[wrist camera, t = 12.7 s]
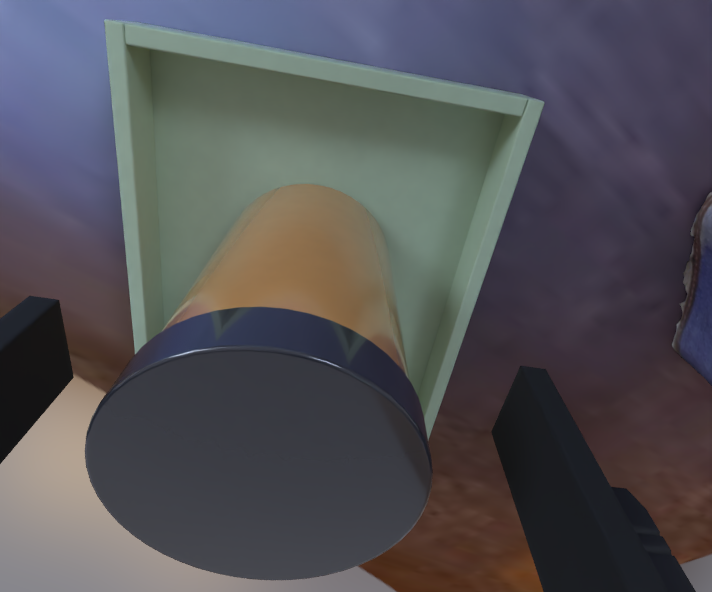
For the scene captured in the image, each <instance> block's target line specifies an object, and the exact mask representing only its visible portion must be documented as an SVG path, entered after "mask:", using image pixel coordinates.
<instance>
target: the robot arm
mask: <svg viewBox="0 0 712 592" xmlns="http://www.w3.org/2000/svg"><path fill="white" fill-rule="evenodd" d="M72 379H73V372H72V366H71V361H70V356H69V351H68V345H67V340H66V335H65V330H64V324H63V319H62V314H61V309H60V303H59V300H55V299H48V298H41V297H34V296H29V297H28V298H26V299H25V300H24V301H22V302H21V303H20V304H19V305H17V306H16V307H15V308H13V309H12V310H11V311H10V312H8V313H7V314H6V315H4V316H3V317H2V318H1V319H0V464H1V462H2V461H3V460H4V459H5V458H6V457H7V455H8V454H9V453H10V452H11V451H12V449H13V448H14V447H15V446H16V445H17V444H18V442H19V441H20V440H21V439H22V438H23V436H24V435H25V434H26V433H27V432H28V430H29V429H30V428H31V427H32V426H33V425H34V423H35V422H36V421H37V420H38V419H39V418H40V416H41V415H42V414H43V413H44V412H45V410H46V409H47V408H48V407H49V406H50V404H51V403H52V402H53V401H54V400H55V399H56V398H57V396H58V395H59V394H60V393H61V392H62V390H63V389H64V388H65V387H66V386H67V385H68V383H69V382H70V381H71V380H72ZM491 432H492V436H493V439H494V442H495V445H496V448H497V451H498V454H499V457H500V460H501V463H502V466H503V469H504V472H505V475H506V478H507V481H508V484H509V487H510V490H511V493H512V496H513V499H514V502H515V505H516V509H517V512H518V515H519V518H520V521H521V524H522V527H523V530H524V533H525V536H526V539H527V542H528V545H529V548H530V551H531V554H532V557H533V560H534V563H535V566H536V569H537V572H538V575H539V578H540V581H541V585H542V588H543V591H544V592H696V591H695V590H694V588H693V586H692V585H691V583H690V581H689V580H688V578H687V576H686V575H685V573H684V571H683V570H682V568H681V566H680V565H679V563H678V561H677V560H676V558H675V556H672V555H671V550H670V548H669V546H668V545H667V543H666V541H665V540H664V538H663V537H661V536H660V531H659V530H658V528H657V526H656V525H655V523H654V522H653V520H652V518H651V517H650V515H649V513H648V512H647V510H646V509H645V508H644V507H643V506H642V505H641V503H640V502H639V501H638V500H637V499H636V498H635V497H634V496H633V495H632V494H631V493H630V492H629V491H628V490H627V489H624V488H616V487H611V486H610V485H609V483H608V481H607V479H606V477H605V476H604V474H603V472H602V470H601V468H600V467H599V465H598V463H597V461H596V459H595V458H594V456H593V454H592V452H591V450H590V449H589V447H588V445H587V443H586V441H585V440H584V438H583V436H582V434H581V432H580V431H579V429H578V427H577V425H576V423H575V422H574V420H573V418H572V416H571V414H570V413H569V411H568V409H567V407H566V405H565V403H564V402H563V400H562V398H561V396H560V394H559V393H558V391H557V389H556V387H555V385H554V384H553V382H552V380H551V378H550V376H549V375H548V373H547V371H546V369H540V368H533V367H526V366H520V368H519V371H518V373H517V375H516V377H515V380H514V382H513V384H512V386H511V389H510V391H509V393H508V395H507V398H506V400H505V402H504V404H503V407H502V409H501V411H500V413H499V416H498V418H497V420H496V422H495V425H494V427H493V429H492V431H491Z"/></svg>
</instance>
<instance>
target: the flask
mask: <svg viewBox="0 0 712 592" xmlns="http://www.w3.org/2000/svg"><path fill="white" fill-rule="evenodd" d="M690 236H694V238H695V239H694V244H693V249H692V251H691V252H692V253H691V255H690V256H689V257H690V259H689V260H690V261H688V262H687V264H686V270H685V272H684V273H683V275H684V280H683V283H684V286H686V287H685V290H686V292H687V293H688V294H687V298H686V300H685V301H684V302H682V303H681V304H679V305H681V308H682V312H683V314H682V318H681V319H680V321H679V322H678V324H676V326H677V330H676V334H675V336H674V340H673V342H672V347H673V348H674V350H675V351H676V352H677V353H678V354H679V355H680V356H681V358H683V359H684V360H685V361H686V362H688V363H689V364H690V365H691V366H692V367H693V368H694V369H695V370H696V371H697V372H698V373H699V374H701V375H702V376H703V377H704V378H705V379H706V380H707V381H708V383H709V384H710V385H711V386H712V192H710V193H709V194H708V196H707V198H706V201H705V202H704V204H703V205H702V207H701V209H700V210H699V212H698V213H697V215H696V217H695V221H694V223H693V226H692V228H691V233H690Z"/></svg>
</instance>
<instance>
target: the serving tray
mask: <svg viewBox="0 0 712 592" xmlns="http://www.w3.org/2000/svg"><path fill="white" fill-rule="evenodd" d="M104 24H105V34H106V45H107V56H108V67H109V77H110V88H111V99H112V110H113V120H114V131H115V142H116V153H117V163H118V174H119V185H120V196H121V206H122V217H123V228H124V239H125V249H126V260H127V271H128V282H129V292H130V303H131V314H132V325H133V335H134V346H135V354H136V353H137V352H138V351H139V349H140V348H141V347H142V346H143V345H145V344H146V343H147V342H148V341H150V340H151V339H152V338H153V337H154V336H156V335H157V334H159V333H160V332H161V331H162V329H163V328H164V326H165V325H166V323H167V322H168V320H169V319H170V317H171V316H172V314H173V313H174V311H175V310H176V308H177V307H178V305H179V304H180V302H181V301H182V299H183V298H184V296H185V295H186V293H187V292H188V290H189V289H190V288H191V286H192V285H193V283H194V282H195V280H196V279H197V277H198V276H199V274H200V273H201V271H202V270H203V268H204V267H205V265H206V264H207V262H208V261H209V259H210V258H211V256H212V255H213V253H214V252H215V250H216V249H217V247H218V246H219V244H220V243H221V241H222V240H223V239H224V237H225V236H226V234H227V233H228V231H229V230H230V228H231V227H232V225H233V224H234V222H235V221H236V219H237V218H238V216H239V215H240V214H241V212H242V211H243V210H244V209H245V208H246V207H247V206H248V205H249V204H250V203H251V202H252V201H253V200H255V199H256V198H258V197H259V196H261V195H263V194H264V193H267V192H269V191H271V190H273V189H276V188H279V187H283V186H287V185H294V184H314V185H321V186H325V187H330V188H333V189H335V190H338V191H341V192H343V193H345V194H347V195H348V196H350V197H352V198H353V199H355V200H356V201H358V202H359V203H361V204H362V205H363V206H364V207H365V208H366V209H367V210H368V211H369V212H370V213H371V214H372V215H373V217H374V218H375V219H376V221H377V222H378V224H379V225H380V227H381V229H382V231H383V233H384V235H385V237H386V241H387V244H388V248H389V254H390V260H391V267H392V273H393V279H394V286H395V292H396V298H397V305H398V311H399V317H400V323H401V330H402V336H403V342H404V349H405V355H406V361H407V368H408V374H409V380H410V382H411V383H412V385H413V387H414V389H415V391H416V393H417V395H418V397H419V401H420V404H421V407H422V411H423V415H424V420H425V426H426V431H427V437H428V439H429V437H430V434H431V431H432V428H433V425H434V422H435V419H436V416H437V413H438V411H439V408H440V405H441V402H442V399H443V396H444V393H445V390H446V387H447V384H448V382H449V379H450V376H451V373H452V370H453V367H454V364H455V361H456V358H457V356H458V353H459V350H460V347H461V344H462V341H463V338H464V335H465V332H466V329H467V327H468V324H469V321H470V318H471V315H472V312H473V309H474V306H475V303H476V301H477V298H478V295H479V292H480V289H481V286H482V283H483V280H484V277H485V275H486V272H487V269H488V266H489V263H490V260H491V257H492V254H493V251H494V248H495V246H496V243H497V240H498V237H499V234H500V231H501V228H502V225H503V222H504V220H505V217H506V214H507V211H508V208H509V205H510V202H511V199H512V196H513V193H514V191H515V188H516V185H517V182H518V179H519V176H520V173H521V170H522V167H523V165H524V162H525V159H526V156H527V153H528V150H529V147H530V144H531V141H532V138H533V136H534V133H535V130H536V127H537V124H538V121H539V118H540V115H541V112H542V110H543V107H544V101H541V100H538V99H535V98H532V97H528V96H525V95H522V94H518V93H513V92H507V91H502V90H497V89H491V88H486V87H481V86H475V85H470V84H465V83H459V82H454V81H449V80H443V79H438V78H433V77H427V76H422V75H417V74H411V73H406V72H401V71H395V70H390V69H385V68H379V67H374V66H369V65H364V64H358V63H353V62H348V61H342V60H337V59H332V58H326V57H321V56H316V55H310V54H305V53H300V52H294V51H289V50H284V49H278V48H273V47H268V46H262V45H257V44H252V43H246V42H241V41H236V40H230V39H225V38H220V37H214V36H209V35H204V34H199V33H193V32H188V31H183V30H177V29H172V28H167V27H161V26H156V25H151V24H145V23H140V22H130V21H119V20H108V19H106V20H105V21H104Z"/></svg>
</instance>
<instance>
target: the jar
mask: <svg viewBox="0 0 712 592" xmlns="http://www.w3.org/2000/svg"><path fill="white" fill-rule="evenodd" d="M85 459H86V468H87V471H88V474H89V478H90V482H91V483H92V486H93V488H94V490H95V492H96V494H97V496H98V497H99V499H100V500H101V502H102V503H103V505H104V506H105V508H106V509H107V510H108V511H109V513H110V514H111V515H112V516H113V517H114V518H115V519H116V520H117V522H118V523H120V524H121V525H122V526H123V527H124V528H125V529H126V530H128V531H129V532H130V533H131V534H132V535H134V536H135V537H136V538H138V539H139V540H141V541H142V542H144V543H145V544H146V545H148V546H150V547H152V548H153V549H155V550H157V551H159V552H161V553H162V554H164V555H166V556H169V557H171V558H173V559H175V560H177V561H180V562H182V563H185V564H188V565H191V566H193V567H196V568H200V569H203V570H206V571H210V572H214V573H218V574H223V575H228V576H233V577H240V578H247V579H258V580H293V579H304V578H312V577H319V576H324V575H329V574H333V573H337V572H341V571H344V570H347V569H350V568H353V567H355V566H358V565H361V564H363V563H365V562H367V561H369V560H371V559H374V558H376V557H377V556H379V555H380V554H382V553H384V552H385V551H387V550H389V549H390V548H391V547H393V546H394V545H395V544H396V543H398V542H399V541H400V540H401V539H402V538H403V537H404V536H405V535H406V534H407V533H408V532H409V531H410V530H411V529H412V528H413V526H414V525H415V524H416V522H417V521H418V519H419V518H420V517H421V515H422V513H423V511H424V508H425V506H426V504H427V502H428V498H429V495H430V491H431V487H432V476H433V469H432V460H431V453H430V448H429V442H428V437H427V431H426V426H425V420H424V415H423V411H422V407H421V404H420V401H419V397H418V395H417V393H416V391H415V389H414V387H413V385H412V383H411V382H410V380H409V374H408V368H407V361H406V355H405V349H404V342H403V336H402V330H401V323H400V317H399V311H398V305H397V298H396V292H395V286H394V279H393V273H392V267H391V260H390V254H389V248H388V244H387V241H386V237H385V235H384V233H383V231H382V229H381V227H380V225H379V224H378V222H377V221H376V219H375V218H374V217H373V215H372V214H371V213H370V212H369V211H368V210H367V209H366V208H365V207H364V206H363V205H362V204H361V203H359V202H358V201H356V200H355V199H353V198H352V197H350V196H348V195H347V194H345V193H343V192H341V191H338V190H335V189H333V188H330V187H325V186H321V185H314V184H294V185H287V186H283V187H279V188H276V189H273V190H271V191H269V192H267V193H264V194H263V195H261V196H259V197H258V198H256V199H255V200H253V201H252V202H251V203H250V204H249V205H248V206H247V207H246V208H245V209H244V210H243V211H242V212H241V214H240V215H239V216H238V218H237V219H236V221H235V222H234V224H233V225H232V227H231V228H230V230H229V231H228V233H227V234H226V236H225V237H224V239H223V240H222V241H221V243H220V244H219V246H218V247H217V249H216V250H215V252H214V253H213V255H212V256H211V258H210V259H209V261H208V262H207V264H206V265H205V267H204V268H203V270H202V271H201V273H200V274H199V276H198V277H197V279H196V280H195V282H194V283H193V285H192V286H191V288H190V289H189V290H188V292H187V293H186V295H185V296H184V298H183V299H182V301H181V302H180V304H179V305H178V307H177V308H176V310H175V311H174V313H173V314H172V316H171V317H170V319H169V320H168V322H167V323H166V325H165V326H164V328H163V329H162V331H161V332H160V333H159V334H157V335H156V336H154V337H153V338H152V339H151V340H150V341H148V342H147V343H146V344H145V345H143V346H142V347H141V348H140V349H139V351H138V352H137V353H136V354H135V355H134V356H133V358H132V359H131V360H130V361H129V363H128V364H127V365H126V367H125V368H124V370H123V371H122V372H121V374H120V375H119V377H118V378H117V380H116V381H115V382H114V384H113V385H112V387H111V388H110V389H109V391H108V392H107V394H106V395H105V396H104V398H103V399H102V401H101V402H100V404H99V406H98V407H97V409H96V411H95V413H94V415H93V416H92V419H91V422H90V424H89V428H88V431H87V436H86V444H85Z"/></svg>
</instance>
